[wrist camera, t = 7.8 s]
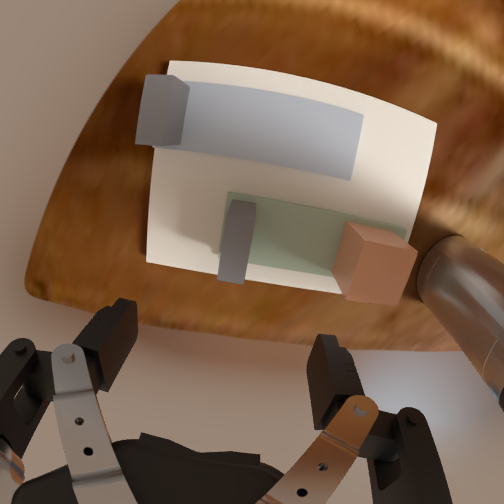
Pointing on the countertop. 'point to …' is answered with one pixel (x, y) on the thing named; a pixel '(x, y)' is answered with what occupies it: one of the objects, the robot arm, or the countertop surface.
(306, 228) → the block strip
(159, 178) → the lane board
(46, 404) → the robot arm
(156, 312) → the countertop surface
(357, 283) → the block
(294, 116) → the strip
